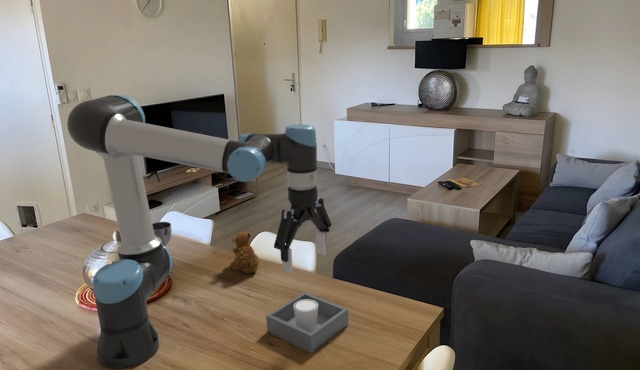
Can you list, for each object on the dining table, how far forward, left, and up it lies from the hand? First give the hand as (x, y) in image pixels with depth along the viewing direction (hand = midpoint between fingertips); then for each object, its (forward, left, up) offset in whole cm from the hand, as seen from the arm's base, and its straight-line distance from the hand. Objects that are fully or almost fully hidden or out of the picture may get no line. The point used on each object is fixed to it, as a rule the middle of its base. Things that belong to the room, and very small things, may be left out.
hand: (304, 262), depth 130 cm
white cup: (0, 0, -20) cm, 20 cm away
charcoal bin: (0, 0, -20) cm, 20 cm away
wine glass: (0, +69, -20) cm, 72 cm away
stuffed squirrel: (+15, +41, -20) cm, 49 cm away
